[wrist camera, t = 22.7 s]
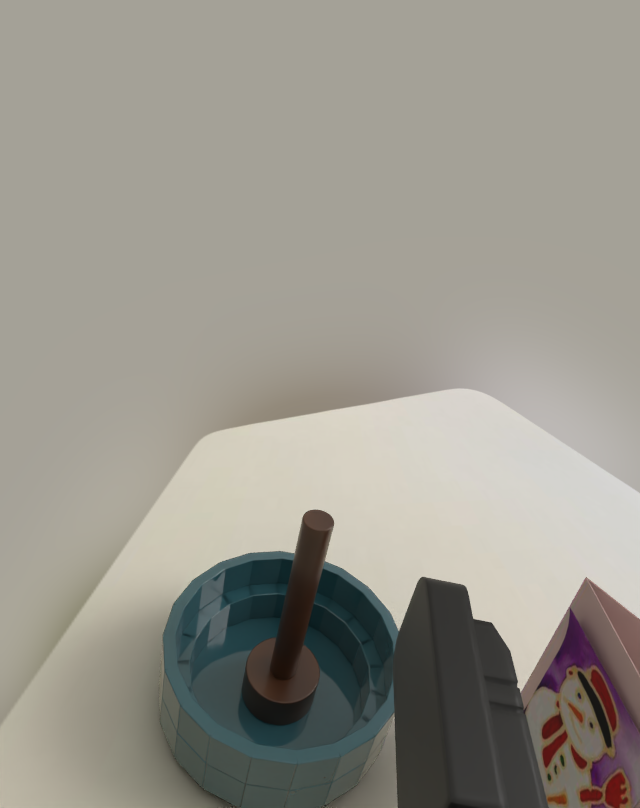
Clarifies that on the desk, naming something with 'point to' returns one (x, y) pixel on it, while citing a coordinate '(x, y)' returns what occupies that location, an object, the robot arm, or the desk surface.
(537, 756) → the greeting card
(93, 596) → the desk surface
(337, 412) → the desk surface
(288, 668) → the brown joystick
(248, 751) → the bowl
